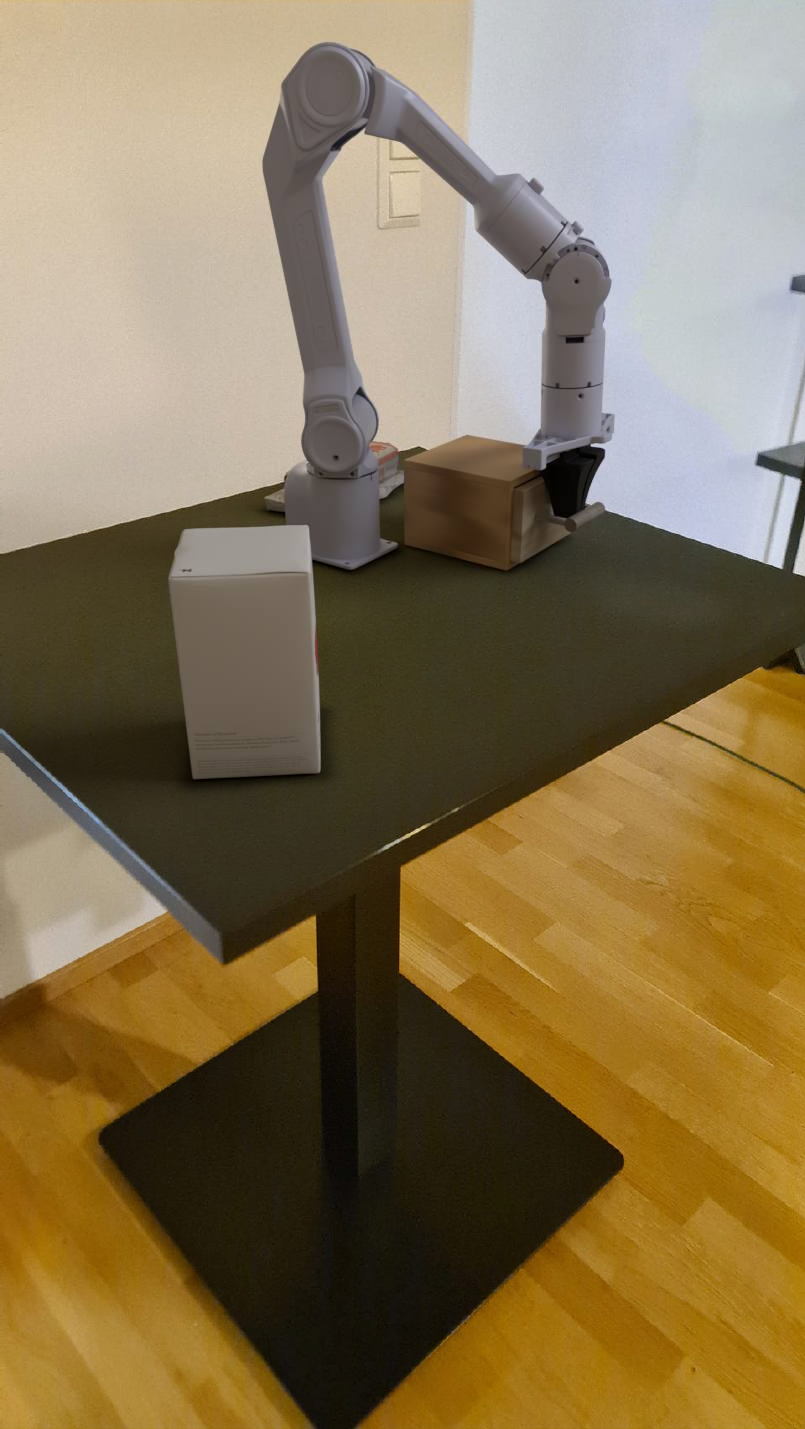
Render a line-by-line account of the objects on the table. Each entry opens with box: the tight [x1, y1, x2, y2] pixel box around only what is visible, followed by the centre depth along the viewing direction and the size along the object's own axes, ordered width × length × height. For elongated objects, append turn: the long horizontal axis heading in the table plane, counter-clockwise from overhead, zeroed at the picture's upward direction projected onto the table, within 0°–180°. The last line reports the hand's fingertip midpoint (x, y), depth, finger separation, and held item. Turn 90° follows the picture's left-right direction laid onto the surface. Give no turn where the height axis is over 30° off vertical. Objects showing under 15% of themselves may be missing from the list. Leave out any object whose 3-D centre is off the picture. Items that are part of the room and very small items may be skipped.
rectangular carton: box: [167, 524, 322, 780], centre depth 70 cm, size 9×9×15 cm
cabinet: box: [403, 434, 540, 571], centre depth 106 cm, size 13×12×9 cm
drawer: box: [510, 474, 606, 564], centre depth 104 cm, size 16×10×7 cm, turn 53°
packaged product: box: [263, 440, 404, 513], centre depth 121 cm, size 18×5×10 cm
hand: (568, 522), depth 102 cm, fingers closed, pressing on drawer
